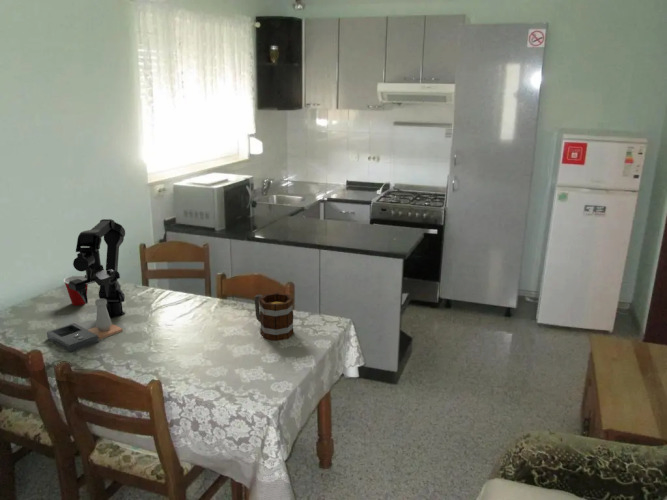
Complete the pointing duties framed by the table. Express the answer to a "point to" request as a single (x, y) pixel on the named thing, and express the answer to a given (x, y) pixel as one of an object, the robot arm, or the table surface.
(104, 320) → the salt shaker
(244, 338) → the table surface
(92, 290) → the table surface
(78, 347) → the grey rectangular device
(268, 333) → the mug
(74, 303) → the plastic cup
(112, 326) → the terracotta coaster
